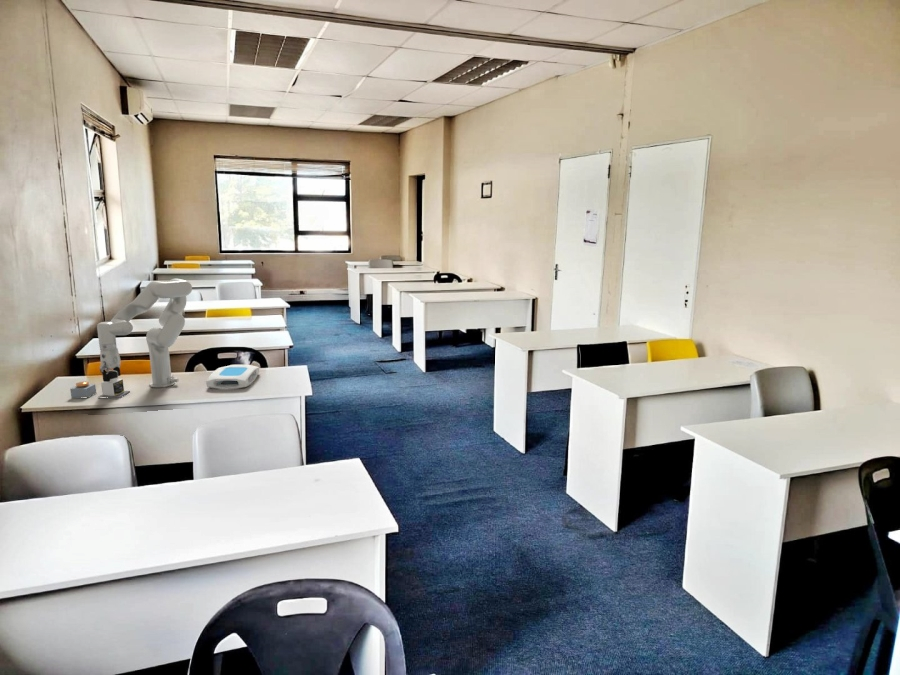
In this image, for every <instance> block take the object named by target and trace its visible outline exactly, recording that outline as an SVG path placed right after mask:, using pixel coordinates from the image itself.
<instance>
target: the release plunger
mask: <svg viewBox="0 0 900 675" xmlns="http://www.w3.org/2000/svg"><path fill="white" fill-rule="evenodd" d="M89 384H90V382H89V381H79V382H76V383H75V386H76V387H77V388H85V387H87V386H88V385H89Z"/></svg>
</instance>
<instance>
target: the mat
mask: <svg viewBox="0 0 900 675" xmlns="http://www.w3.org/2000/svg"><path fill="white" fill-rule="evenodd" d="M129 393H130V394H131V392H130V390H124V392H123V393H120V394H118V395H116V396H107V395H103V393H101V395H99V396H98V397H108V398H120V399H122V398H123V397H125V396H127V395H128V394H129ZM124 395H125V396H124ZM122 396H123V397H122ZM108 398H107V399H108Z"/></svg>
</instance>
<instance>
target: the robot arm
mask: <svg viewBox="0 0 900 675" xmlns="http://www.w3.org/2000/svg"><path fill="white" fill-rule="evenodd" d="M192 291H193V285H192V284H191V282H189V281H188V280H184V279H182V278H181V279H180V278H172V279H170V280H169V281H168V282H167V281H165V282H164V281H158V280H152V281H150V282H149V283H148V284H147V285H146V286H145V287H144V288H143V289H142V290H141V291H140V293H139V294H138V295H137V296H136V297H135V299H133V300H132V301H131V302H129V303H128V304H126V305H125V306H124V307H122V308H121V309H119V311H118V312H117V313H116V314H115V315H114V316H113V317H112V319H110V321H101V322H98V323H97V324H96V330H97V337H98V338H97V339H98V344H99V345H98V346H99V351H100V352H99V353H100V354H99V356H100V365H99V367H98V368H99V370H100V373H101V375H102V382H103V381H104V382H109V381H110V376H109V374H108V373H109V371H110V370H114V371H117V372H118V377H121V357H120V353H119V349H118V347H117V339H116V338H117V336H127V335H129V334H131V333H132V332H133V329H134V326H133V324H132V323H131V322H130V321H131V320H132V319H134V318H135V317H136V316H138V315H141V314H144V313H146V312H148V311H150V309H151V308H152V307H153V306H154V304H155V303H156V302H157V301H158V300H159V299H169V300H168V302H167V303H166V304H167V305H166V306H165V308H164V309H163V311H162V312H161V314H160V316H159V318H158V323H159V324H160V325H161V326H162V328H161V327H153V328H151V329H150V328H149V329H148V331H147V333H146V336H145V337H146V343H147V348H148V353H149V360H150V361H149V362H150V372H151V382H149V386H150V387H151V388H166V387H171V386H173V385H175V384H176V383H178V382H179V380H180V379H179V377H174V374H172V371H171V370H172V369H171V358H170V350H169V348H170V347H172V346H173V345H174V344H175V342H176V341H177V339H178V338H179V336H180V334H181V332H182V331H183V329H184V327H185V325H186V320H185V317H184V316H183V314H182V313H183V312H184V310H185V308H186V306H187V296H189V295H190V294H191V293H192Z"/></svg>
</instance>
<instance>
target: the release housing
mask: <svg viewBox="0 0 900 675" xmlns="http://www.w3.org/2000/svg"><path fill="white" fill-rule="evenodd" d="M69 389H70V397H71V399H82V398H81V397H89V396H90V397H92V396H94V395H96V394H97V388H96V384H95V383H89V385H88V386H87V387H85V388H77V387H76V385H74V386H73V387H70V388H69ZM95 393H96V394H95ZM93 394H94V395H93ZM91 395H92V396H91ZM90 397H89V398H90Z"/></svg>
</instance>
